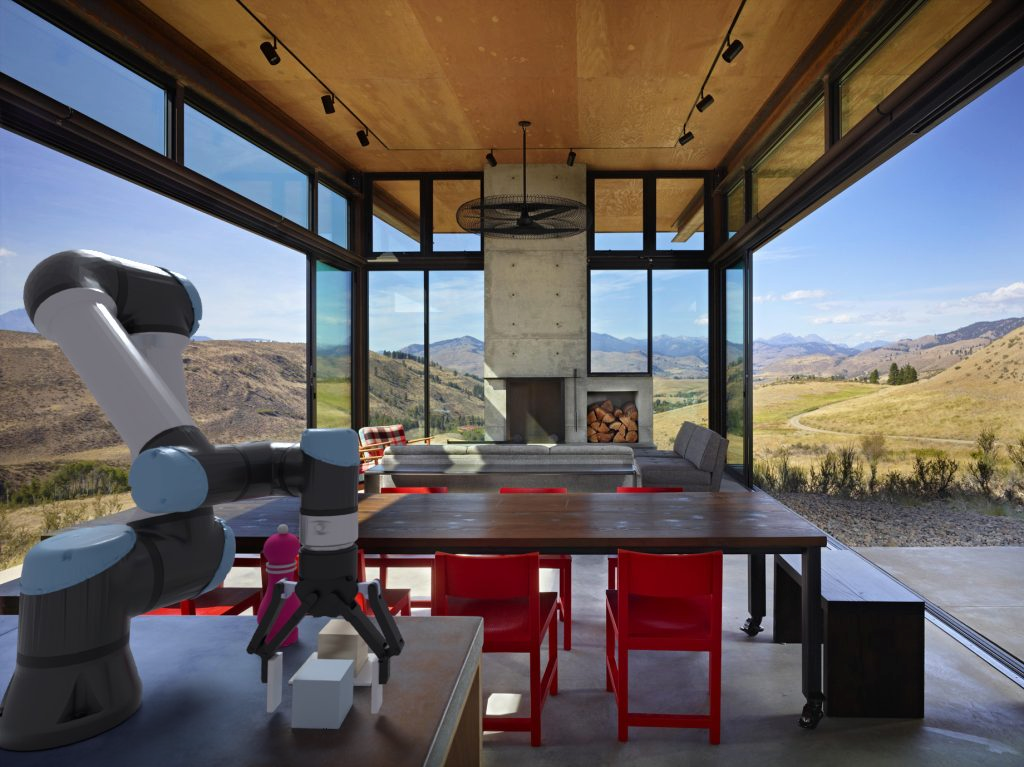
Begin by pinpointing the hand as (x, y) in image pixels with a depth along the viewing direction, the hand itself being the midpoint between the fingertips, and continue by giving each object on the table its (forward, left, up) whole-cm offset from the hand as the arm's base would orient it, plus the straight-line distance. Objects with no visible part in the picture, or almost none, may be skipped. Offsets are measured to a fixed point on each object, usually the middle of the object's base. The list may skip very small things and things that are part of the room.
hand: (325, 708), depth 74 cm
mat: (-2, +13, -1) cm, 13 cm away
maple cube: (-2, +13, -1) cm, 13 cm away
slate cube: (0, 0, -1) cm, 1 cm away
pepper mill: (-16, +23, -1) cm, 28 cm away
